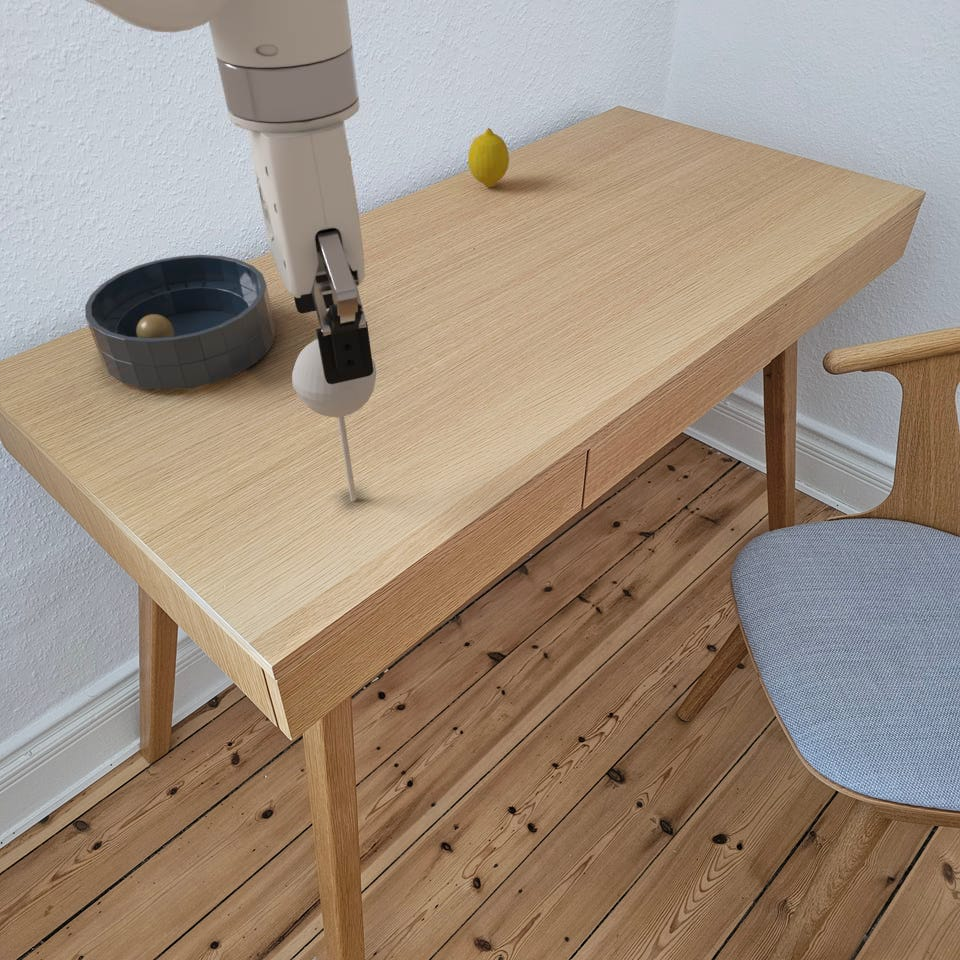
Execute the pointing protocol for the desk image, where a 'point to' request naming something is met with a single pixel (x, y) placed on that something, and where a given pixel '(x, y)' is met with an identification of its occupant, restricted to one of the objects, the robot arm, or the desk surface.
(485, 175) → the fruit
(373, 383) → the lollipop
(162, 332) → the bead
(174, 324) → the bowl
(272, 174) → the robot arm
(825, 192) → the desk surface
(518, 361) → the desk surface
